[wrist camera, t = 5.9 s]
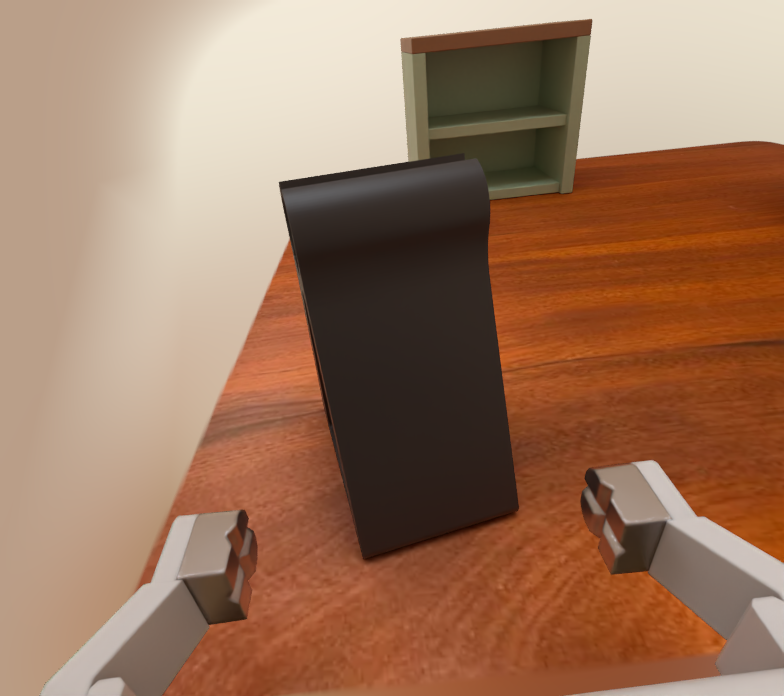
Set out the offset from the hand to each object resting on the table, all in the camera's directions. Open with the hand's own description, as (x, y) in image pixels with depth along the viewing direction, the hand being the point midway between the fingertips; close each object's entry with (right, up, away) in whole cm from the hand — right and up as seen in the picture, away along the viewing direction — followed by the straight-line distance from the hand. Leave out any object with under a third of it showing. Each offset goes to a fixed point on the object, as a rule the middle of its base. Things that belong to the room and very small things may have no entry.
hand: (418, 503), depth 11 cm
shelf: (+10, +22, +42) cm, 49 cm away
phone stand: (0, -1, +10) cm, 10 cm away
